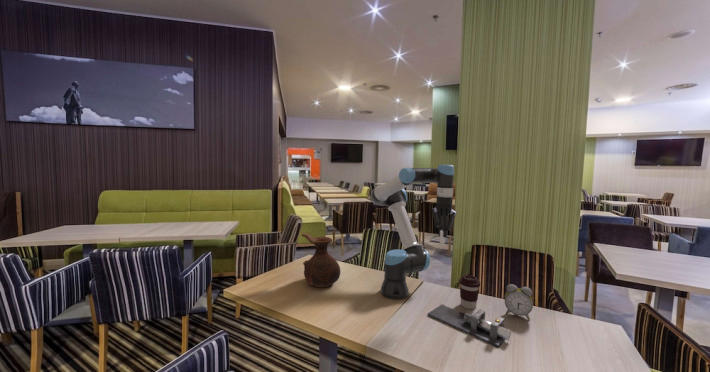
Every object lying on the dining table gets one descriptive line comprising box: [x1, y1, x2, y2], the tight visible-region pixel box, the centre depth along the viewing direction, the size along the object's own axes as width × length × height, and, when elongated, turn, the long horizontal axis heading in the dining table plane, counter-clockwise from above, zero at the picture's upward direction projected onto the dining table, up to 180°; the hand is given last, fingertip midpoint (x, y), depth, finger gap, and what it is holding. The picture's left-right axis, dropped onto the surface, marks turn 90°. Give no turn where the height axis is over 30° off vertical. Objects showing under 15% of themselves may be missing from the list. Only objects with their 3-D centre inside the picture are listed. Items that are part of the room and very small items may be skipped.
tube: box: [464, 312, 512, 341], centre depth 124 cm, size 18×4×4 cm, turn 44°
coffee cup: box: [458, 274, 481, 310], centre depth 147 cm, size 10×10×15 cm
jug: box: [301, 232, 341, 288], centre depth 170 cm, size 22×22×30 cm
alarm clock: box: [504, 283, 534, 321], centre depth 138 cm, size 12×7×15 cm, turn 62°
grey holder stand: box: [427, 304, 506, 348], centre depth 130 cm, size 32×13×8 cm, turn 44°
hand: (442, 243), depth 144 cm, fingers closed
